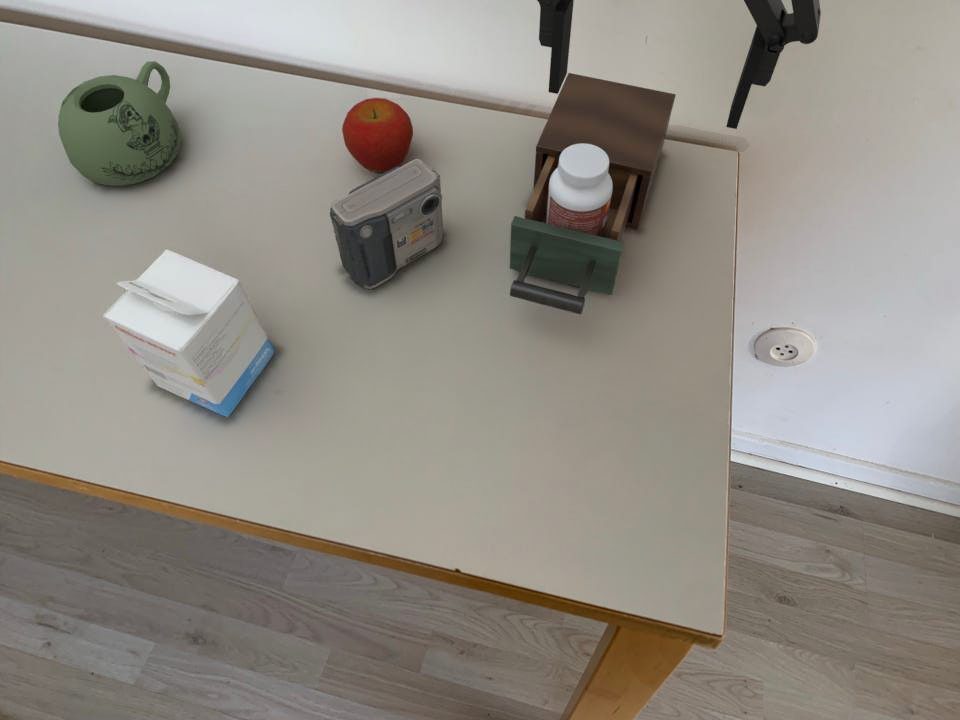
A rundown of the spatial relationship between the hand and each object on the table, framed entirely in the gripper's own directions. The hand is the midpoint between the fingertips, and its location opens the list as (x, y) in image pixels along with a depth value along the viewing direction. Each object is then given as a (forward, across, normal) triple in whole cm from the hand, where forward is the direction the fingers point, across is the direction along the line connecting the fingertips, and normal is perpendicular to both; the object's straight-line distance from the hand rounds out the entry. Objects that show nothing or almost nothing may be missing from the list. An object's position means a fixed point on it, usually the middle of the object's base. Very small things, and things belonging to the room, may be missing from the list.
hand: (643, 99), depth 56 cm
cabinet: (+24, +5, -16) cm, 29 cm away
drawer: (+23, +5, -2) cm, 23 cm away
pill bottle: (+22, +5, -4) cm, 23 cm away
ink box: (+24, +34, +21) cm, 46 cm away
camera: (+24, +23, +2) cm, 33 cm away
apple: (+24, +30, -11) cm, 40 cm away
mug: (+24, +59, -4) cm, 63 cm away
